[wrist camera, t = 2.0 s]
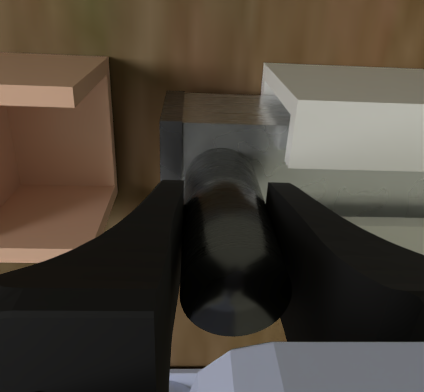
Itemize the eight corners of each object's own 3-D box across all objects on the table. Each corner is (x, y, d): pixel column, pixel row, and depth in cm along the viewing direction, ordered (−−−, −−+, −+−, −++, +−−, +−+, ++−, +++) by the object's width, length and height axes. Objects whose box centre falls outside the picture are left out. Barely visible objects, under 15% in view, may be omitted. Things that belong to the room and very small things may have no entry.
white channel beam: (439, 198, 20) (530, 277, 15) (250, 194, 20) (273, 275, 14) (482, 71, 18) (615, 110, 12) (264, 62, 17) (298, 100, 11)
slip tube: (425, 188, 19) (623, 361, 10) (167, 183, 18) (144, 362, 10) (453, 100, 17) (724, 220, 8) (167, 90, 16) (137, 209, 8)
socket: (117, 192, 19) (92, 263, 14) (14, 190, 19) (-48, 261, 14) (108, 56, 17) (72, 87, 12) (-13, 51, 16) (-103, 80, 11)
